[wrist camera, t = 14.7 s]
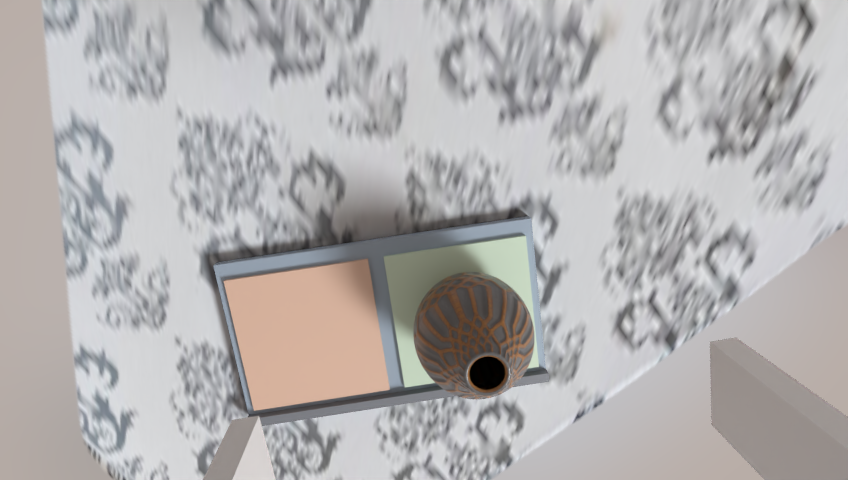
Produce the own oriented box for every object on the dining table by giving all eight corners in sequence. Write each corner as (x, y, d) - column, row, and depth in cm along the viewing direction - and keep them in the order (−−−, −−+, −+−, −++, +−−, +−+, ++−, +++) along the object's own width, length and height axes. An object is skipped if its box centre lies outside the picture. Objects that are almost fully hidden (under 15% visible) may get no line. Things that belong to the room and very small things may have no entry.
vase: (442, 379, 37) (458, 459, 28) (392, 292, 35) (391, 349, 27) (535, 330, 37) (579, 397, 28) (488, 240, 35) (519, 282, 26)
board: (217, 262, 35) (210, 268, 34) (528, 216, 36) (533, 220, 35) (253, 416, 38) (248, 428, 37) (543, 371, 38) (548, 381, 37)
